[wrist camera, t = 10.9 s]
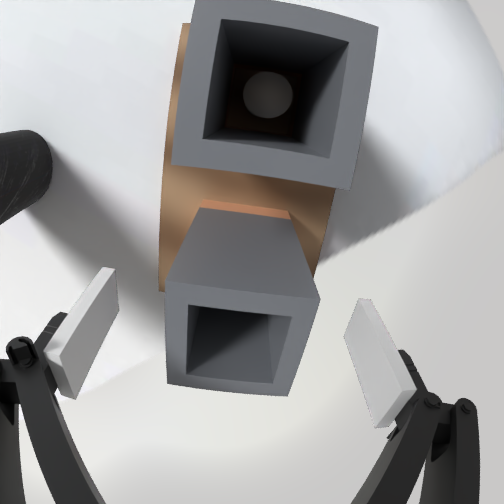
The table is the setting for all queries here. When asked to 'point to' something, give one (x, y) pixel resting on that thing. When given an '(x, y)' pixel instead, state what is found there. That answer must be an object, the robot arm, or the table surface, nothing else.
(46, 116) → the table surface
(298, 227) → the pinboard
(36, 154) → the travel mug
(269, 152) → the seated sleeve
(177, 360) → the banded sleeve
